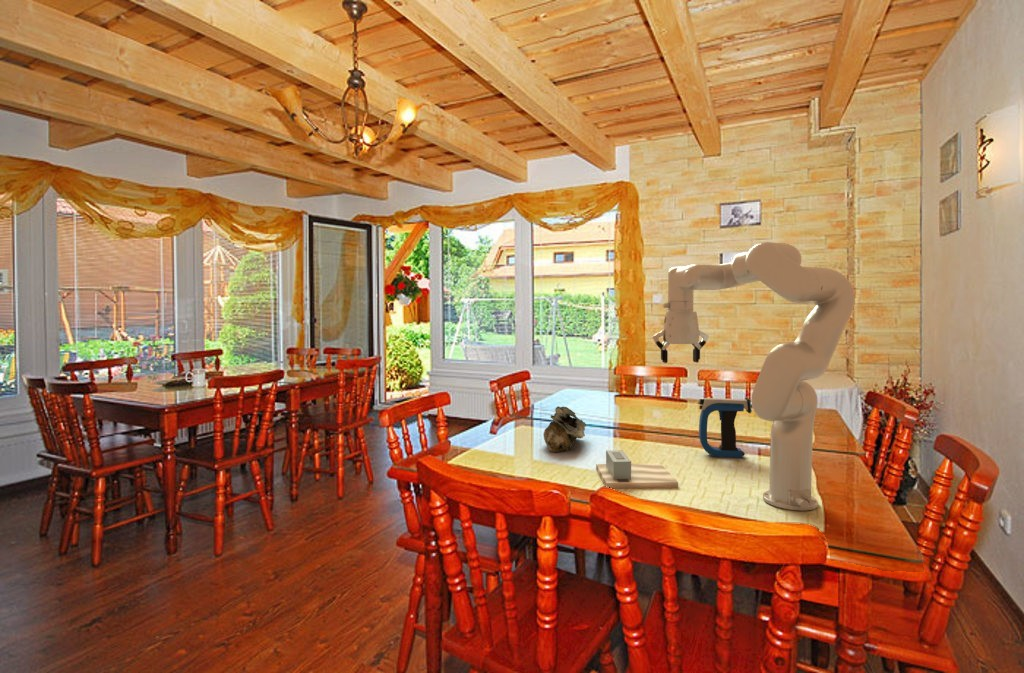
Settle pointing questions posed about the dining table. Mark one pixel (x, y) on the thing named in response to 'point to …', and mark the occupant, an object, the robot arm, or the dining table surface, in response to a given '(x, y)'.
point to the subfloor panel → (640, 477)
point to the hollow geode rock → (563, 430)
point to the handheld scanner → (722, 425)
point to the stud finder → (618, 464)
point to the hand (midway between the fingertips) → (680, 362)
